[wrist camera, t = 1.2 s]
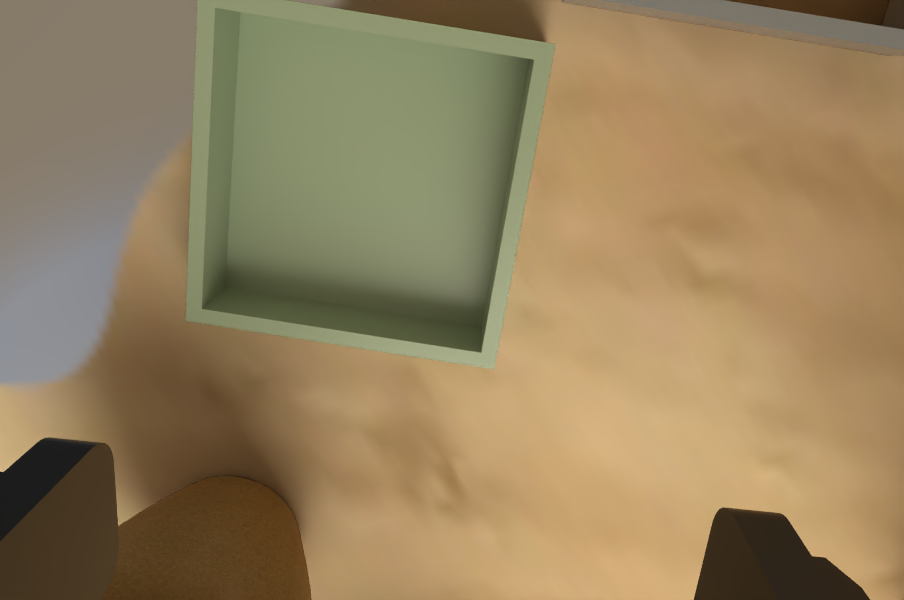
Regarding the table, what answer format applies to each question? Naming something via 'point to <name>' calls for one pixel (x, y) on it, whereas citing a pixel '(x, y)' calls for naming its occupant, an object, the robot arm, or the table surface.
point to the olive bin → (359, 176)
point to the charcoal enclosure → (773, 22)
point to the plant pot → (212, 547)
